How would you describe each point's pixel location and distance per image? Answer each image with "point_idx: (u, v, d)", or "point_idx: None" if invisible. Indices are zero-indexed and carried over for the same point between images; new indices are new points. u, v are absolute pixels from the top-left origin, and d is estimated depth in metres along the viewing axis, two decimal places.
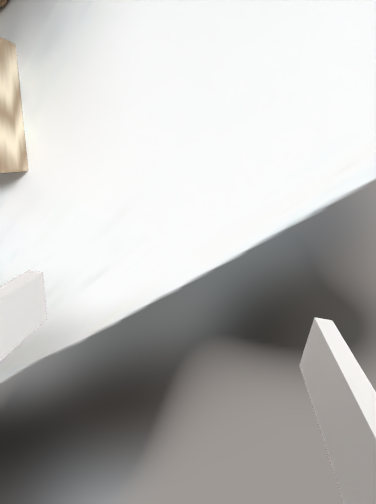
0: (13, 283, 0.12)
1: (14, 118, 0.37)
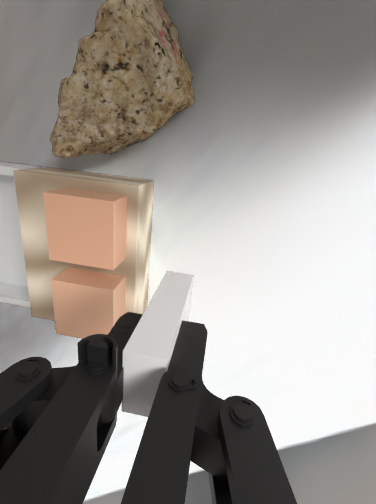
0: (167, 283, 0.14)
1: (145, 264, 0.30)
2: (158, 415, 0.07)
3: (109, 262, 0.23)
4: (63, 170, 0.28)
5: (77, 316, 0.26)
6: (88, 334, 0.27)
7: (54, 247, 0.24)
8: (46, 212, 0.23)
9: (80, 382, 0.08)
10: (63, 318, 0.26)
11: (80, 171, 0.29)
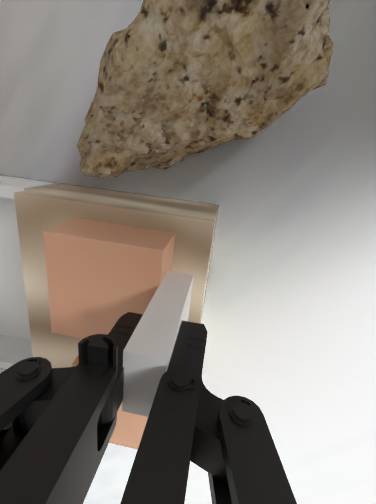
0: (167, 283, 0.14)
1: (200, 322, 0.21)
2: (158, 415, 0.07)
3: None
4: (86, 189, 0.20)
5: None
6: (125, 439, 0.18)
7: (60, 315, 0.15)
8: (48, 262, 0.14)
9: (80, 382, 0.08)
10: None
11: (110, 190, 0.20)
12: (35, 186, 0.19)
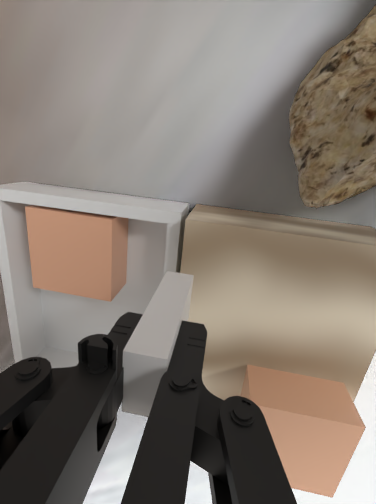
0: (167, 283, 0.14)
1: None
2: (158, 415, 0.07)
3: None
4: (230, 211, 0.18)
5: (280, 456, 0.16)
6: (291, 480, 0.16)
7: None
8: None
9: (80, 382, 0.08)
10: None
11: (250, 211, 0.19)
12: (183, 209, 0.18)
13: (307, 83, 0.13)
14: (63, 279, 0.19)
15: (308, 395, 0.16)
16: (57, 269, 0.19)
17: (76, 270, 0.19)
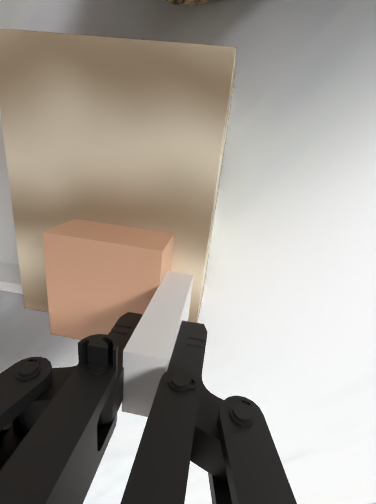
0: (167, 283, 0.14)
1: (212, 223, 0.18)
2: (158, 415, 0.07)
3: None
4: None
5: (90, 303, 0.14)
6: None
7: None
8: None
9: (80, 382, 0.08)
10: (64, 306, 0.15)
11: None
12: None
13: None
14: None
15: (121, 234, 0.14)
16: None
17: None
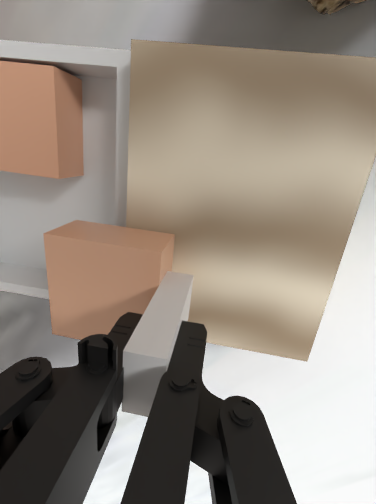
0: (167, 283, 0.14)
1: None
2: (158, 415, 0.07)
3: None
4: None
5: (91, 304, 0.14)
6: None
7: None
8: None
9: (80, 382, 0.08)
10: (65, 307, 0.15)
11: None
12: None
13: None
14: (5, 152, 0.17)
15: (121, 235, 0.14)
16: None
17: (18, 139, 0.16)
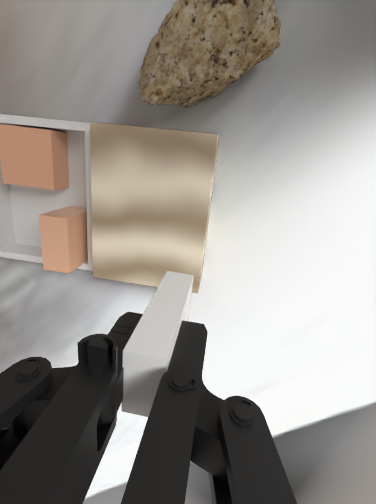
0: (167, 283, 0.14)
1: None
2: (158, 415, 0.07)
3: None
4: None
5: None
6: None
7: None
8: (66, 148, 0.31)
9: (80, 382, 0.08)
10: None
11: None
12: None
13: None
14: (22, 175, 0.29)
15: (65, 212, 0.30)
16: (18, 168, 0.29)
17: (30, 168, 0.29)
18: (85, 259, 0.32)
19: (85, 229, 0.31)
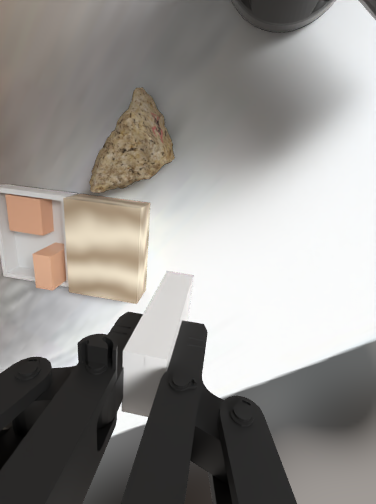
0: (167, 283, 0.14)
1: (144, 257, 0.46)
2: (158, 415, 0.07)
3: None
4: (91, 196, 0.44)
5: None
6: None
7: None
8: (51, 206, 0.46)
9: (80, 382, 0.08)
10: None
11: None
12: (69, 195, 0.43)
13: None
14: (22, 225, 0.45)
15: (50, 249, 0.45)
16: (19, 221, 0.45)
17: (27, 221, 0.44)
18: (65, 279, 0.48)
19: (64, 260, 0.47)
